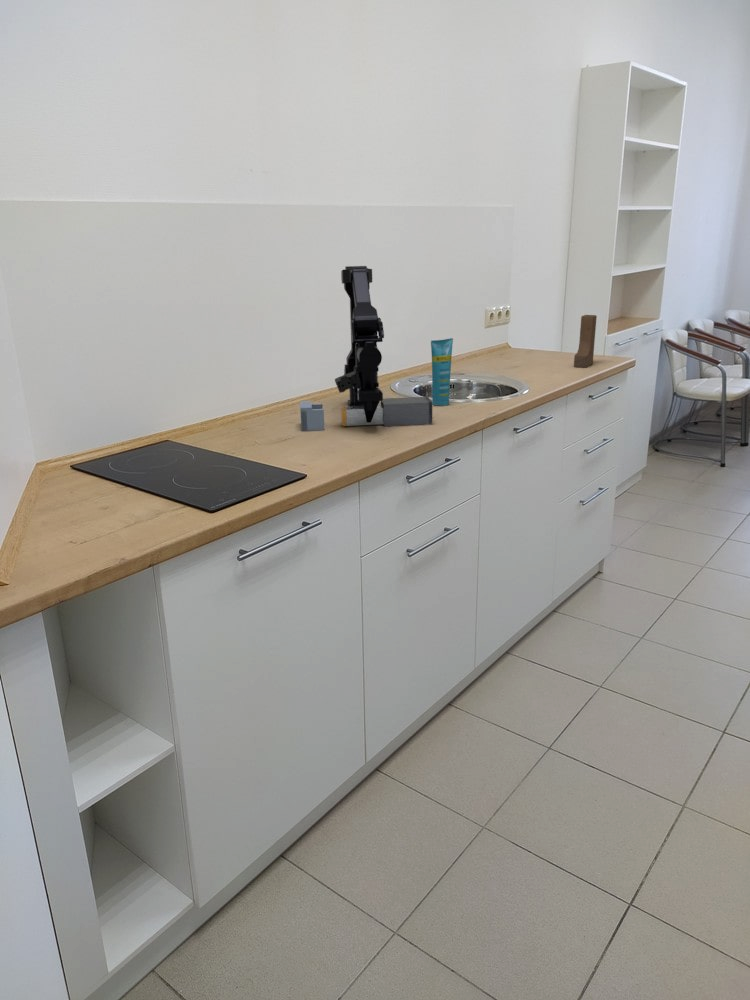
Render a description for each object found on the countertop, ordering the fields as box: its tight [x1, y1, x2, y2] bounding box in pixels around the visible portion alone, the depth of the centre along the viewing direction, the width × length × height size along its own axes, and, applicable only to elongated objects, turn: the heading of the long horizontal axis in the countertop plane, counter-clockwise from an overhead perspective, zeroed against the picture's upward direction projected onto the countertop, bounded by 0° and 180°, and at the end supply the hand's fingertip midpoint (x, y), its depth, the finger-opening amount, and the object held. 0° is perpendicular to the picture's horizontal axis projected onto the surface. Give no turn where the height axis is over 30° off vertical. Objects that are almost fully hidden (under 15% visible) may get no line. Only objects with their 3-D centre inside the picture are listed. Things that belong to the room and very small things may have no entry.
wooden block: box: [573, 314, 598, 369], centre depth 270 cm, size 9×4×18 cm, turn 147°
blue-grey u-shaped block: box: [299, 400, 325, 432], centre depth 196 cm, size 8×6×6 cm
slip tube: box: [340, 404, 384, 427], centre depth 198 cm, size 4×22×4 cm, turn 97°
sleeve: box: [380, 396, 433, 427], centre depth 199 cm, size 7×13×6 cm, turn 97°
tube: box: [430, 337, 454, 407], centre depth 216 cm, size 7×5×19 cm, turn 123°
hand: (367, 420), depth 199 cm, fingers closed on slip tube, 4 cm apart
